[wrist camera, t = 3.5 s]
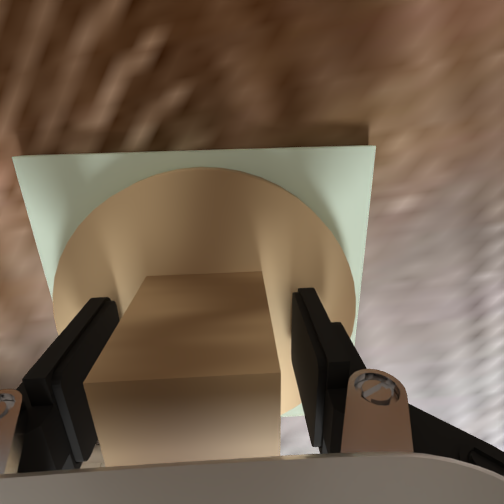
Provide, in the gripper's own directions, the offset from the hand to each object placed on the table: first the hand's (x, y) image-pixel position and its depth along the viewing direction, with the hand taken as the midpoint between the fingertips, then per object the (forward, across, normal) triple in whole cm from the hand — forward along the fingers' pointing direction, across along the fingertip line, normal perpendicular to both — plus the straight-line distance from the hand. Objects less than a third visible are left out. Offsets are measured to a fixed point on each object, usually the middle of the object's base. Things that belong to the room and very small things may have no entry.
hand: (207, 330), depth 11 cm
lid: (+1, 0, 0) cm, 1 cm away
